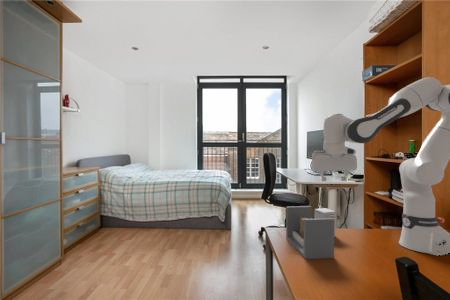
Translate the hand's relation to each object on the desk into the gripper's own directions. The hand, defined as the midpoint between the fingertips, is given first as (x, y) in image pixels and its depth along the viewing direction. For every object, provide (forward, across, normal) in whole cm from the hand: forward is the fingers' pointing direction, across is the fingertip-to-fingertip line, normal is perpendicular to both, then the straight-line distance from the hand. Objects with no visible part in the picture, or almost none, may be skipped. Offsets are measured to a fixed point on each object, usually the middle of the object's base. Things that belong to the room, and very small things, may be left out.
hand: (333, 180), depth 112 cm
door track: (+29, -13, -2) cm, 32 cm away
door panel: (+27, -13, -2) cm, 30 cm away
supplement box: (+29, +2, +12) cm, 32 cm away
